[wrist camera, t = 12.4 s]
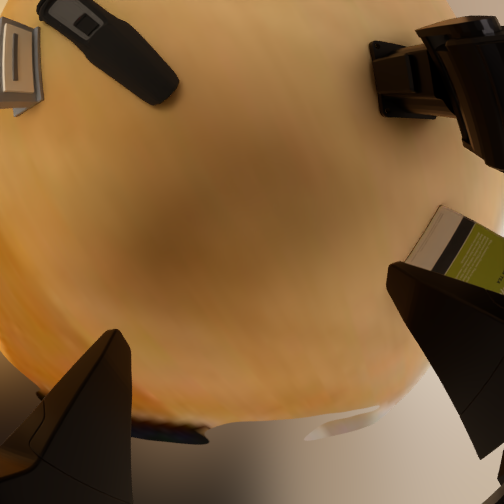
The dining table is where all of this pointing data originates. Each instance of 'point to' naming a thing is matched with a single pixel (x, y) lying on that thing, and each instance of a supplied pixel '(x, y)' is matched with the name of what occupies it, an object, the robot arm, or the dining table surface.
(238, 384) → the dining table surface
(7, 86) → the gray angled bracket
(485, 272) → the tea box
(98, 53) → the electric trimmer
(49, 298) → the dining table surface
